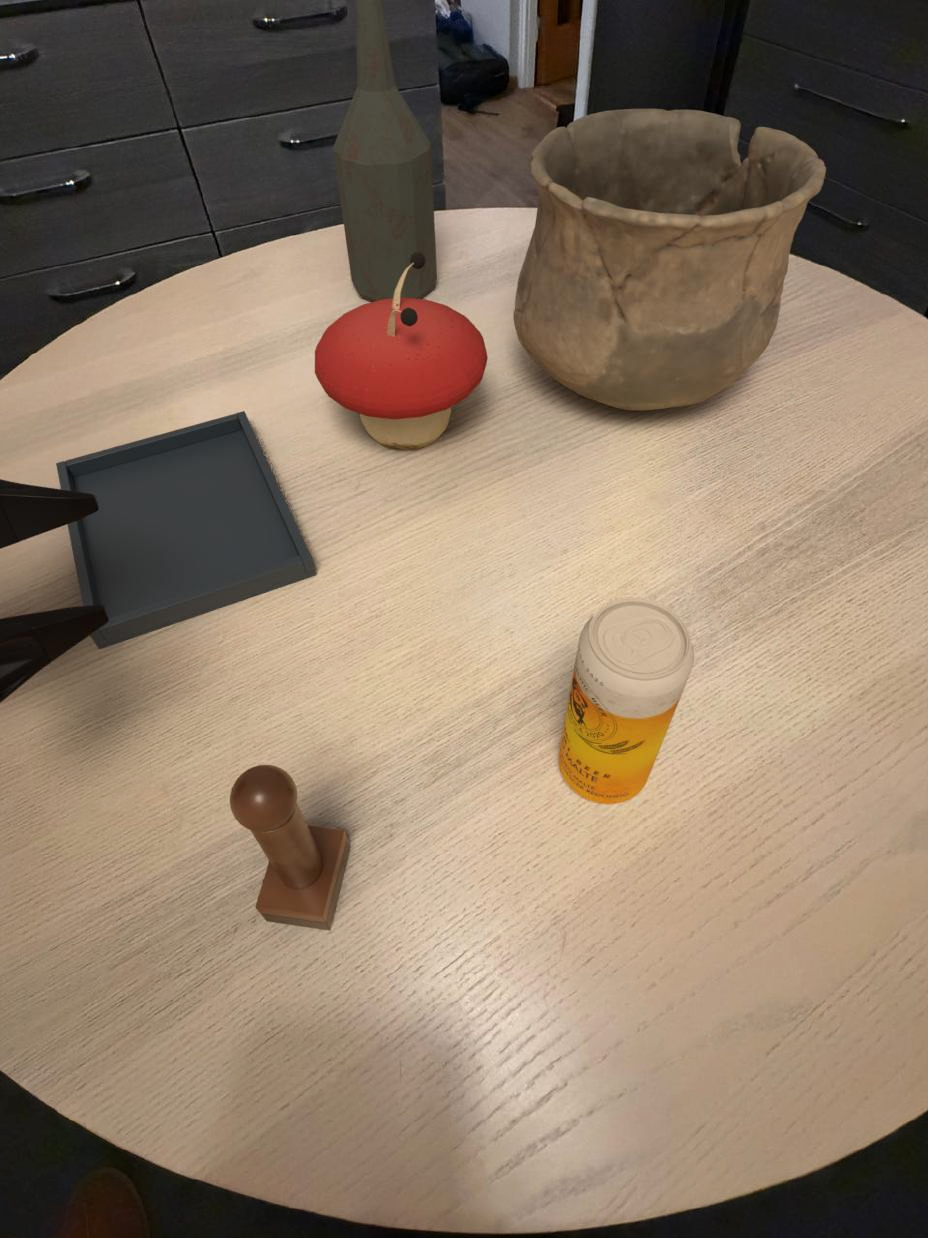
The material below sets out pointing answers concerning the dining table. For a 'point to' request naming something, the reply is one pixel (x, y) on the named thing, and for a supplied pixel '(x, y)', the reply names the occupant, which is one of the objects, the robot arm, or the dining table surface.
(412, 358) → the mushroom
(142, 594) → the tray
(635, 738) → the beer can
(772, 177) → the pot
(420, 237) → the bottle
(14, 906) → the dining table surface
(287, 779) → the wooden ball stamp
